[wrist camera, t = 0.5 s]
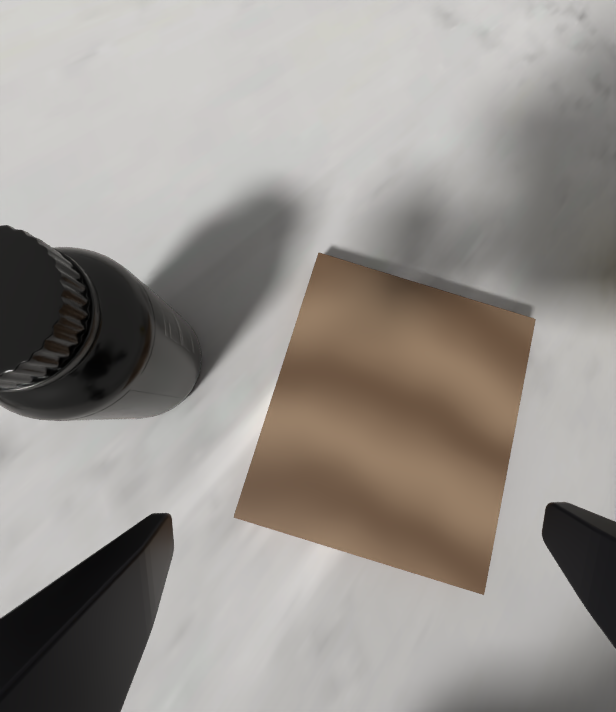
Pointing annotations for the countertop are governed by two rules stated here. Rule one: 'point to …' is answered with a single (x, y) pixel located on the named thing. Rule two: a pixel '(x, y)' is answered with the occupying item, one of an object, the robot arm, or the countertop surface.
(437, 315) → the walnut board
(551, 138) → the countertop surface
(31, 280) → the supplement bottle
